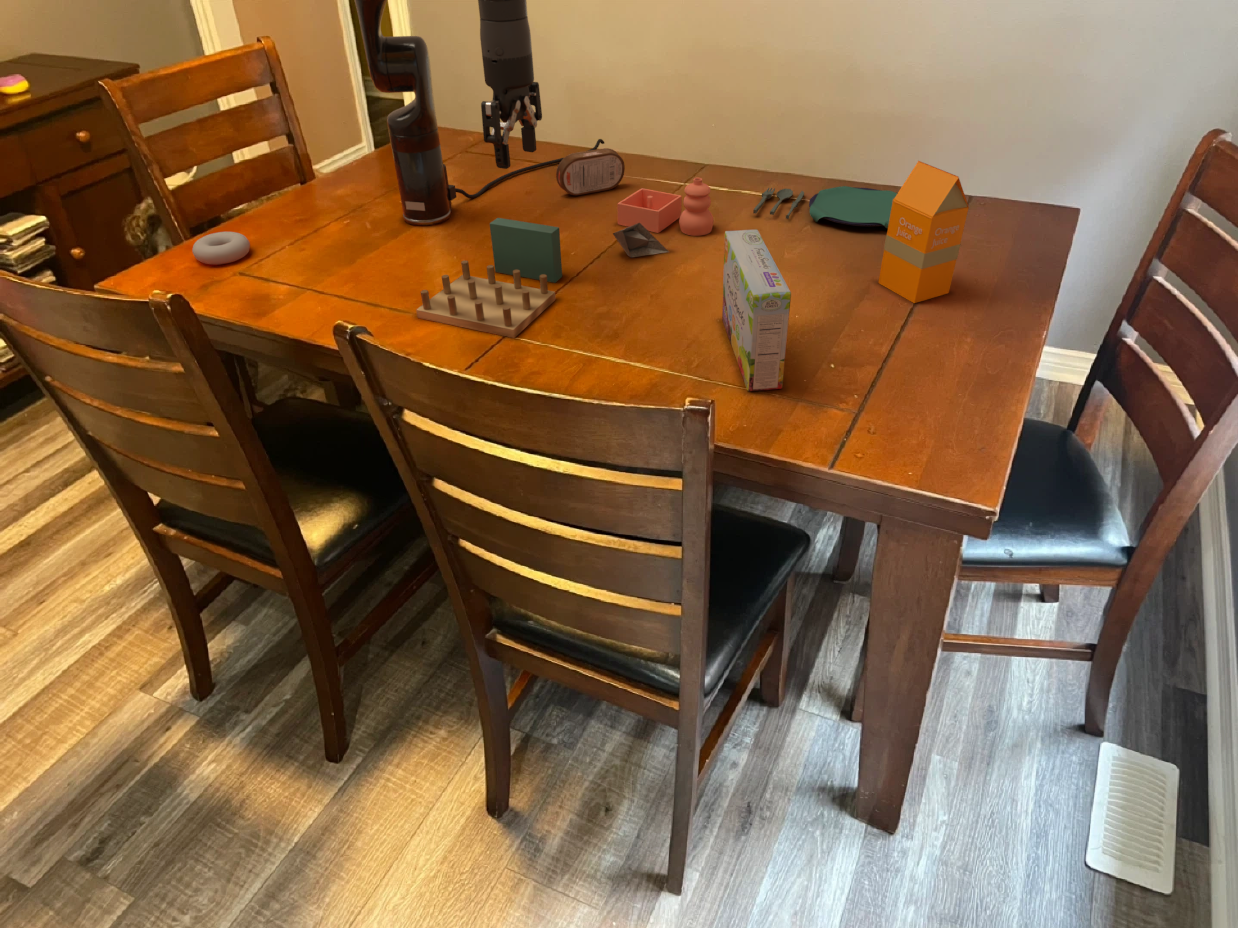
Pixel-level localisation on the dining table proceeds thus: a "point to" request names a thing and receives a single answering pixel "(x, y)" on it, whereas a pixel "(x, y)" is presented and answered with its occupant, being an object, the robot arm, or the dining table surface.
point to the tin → (590, 171)
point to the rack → (486, 303)
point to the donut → (221, 248)
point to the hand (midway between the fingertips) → (516, 159)
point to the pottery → (669, 209)
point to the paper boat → (638, 241)
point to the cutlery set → (842, 205)
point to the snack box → (755, 309)
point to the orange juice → (924, 234)
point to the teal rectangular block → (526, 249)
